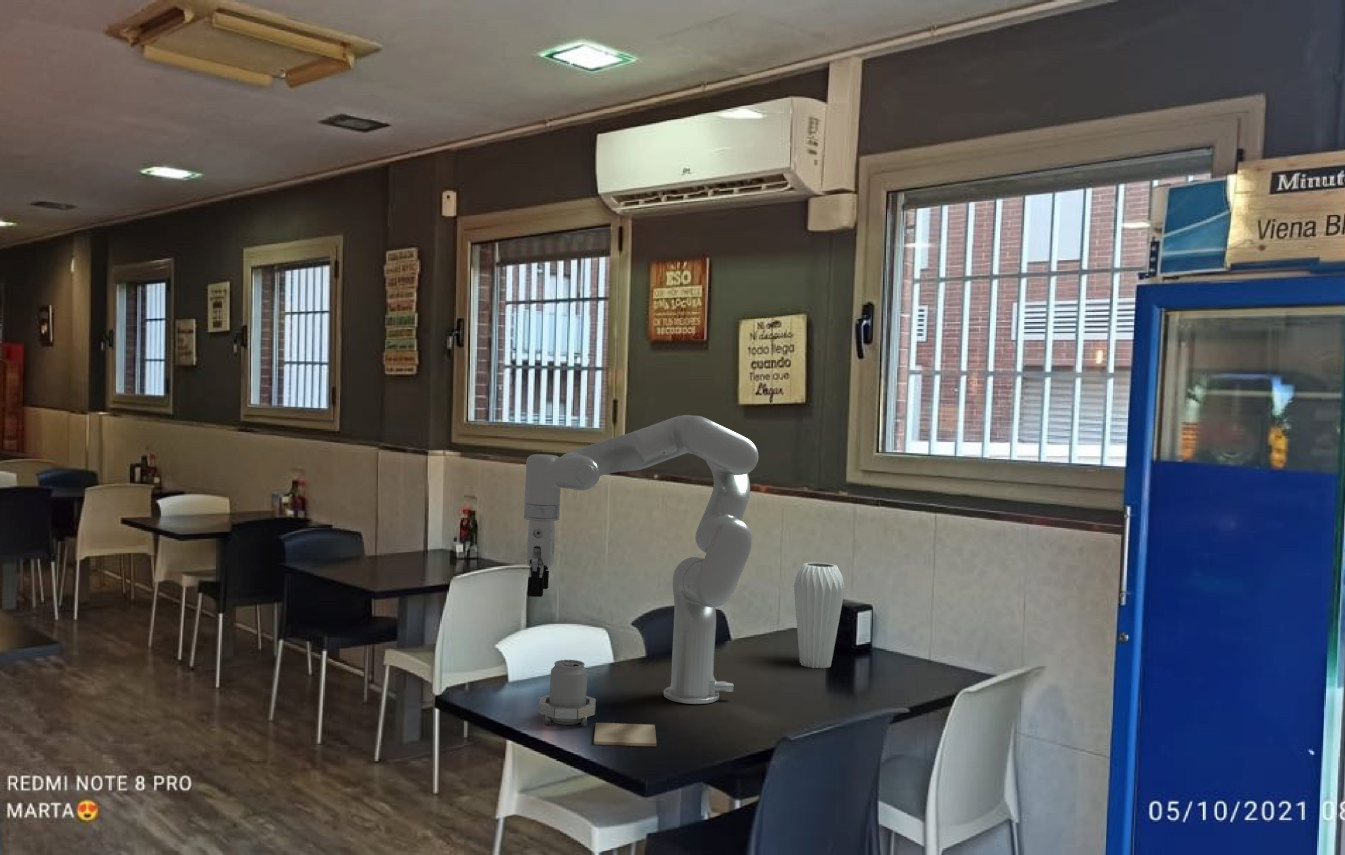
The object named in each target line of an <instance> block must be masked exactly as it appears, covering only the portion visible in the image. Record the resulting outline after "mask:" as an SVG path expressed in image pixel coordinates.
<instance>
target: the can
mask: <svg viewBox="0 0 1345 855" xmlns="http://www.w3.org/2000/svg"><path fill="white" fill-rule="evenodd" d="M553 664H554V665H553V667H552V668H551V670H550V682H549V695H550V699H549V704H551V705H554V706H557V707H580V706H584V705H586V696H587V689H588V688H587V686H588V669H586V667H585V662H583V661H582V660H577V659H561V660H556V661H554V663H553ZM551 721H552V722H553V723H555V724H559V725H564V726H565V725H576V724H579V723H580V724H581V718H580V719H560V718H552V717H551Z"/></svg>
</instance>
